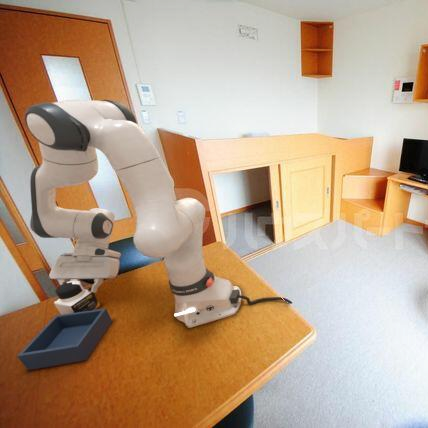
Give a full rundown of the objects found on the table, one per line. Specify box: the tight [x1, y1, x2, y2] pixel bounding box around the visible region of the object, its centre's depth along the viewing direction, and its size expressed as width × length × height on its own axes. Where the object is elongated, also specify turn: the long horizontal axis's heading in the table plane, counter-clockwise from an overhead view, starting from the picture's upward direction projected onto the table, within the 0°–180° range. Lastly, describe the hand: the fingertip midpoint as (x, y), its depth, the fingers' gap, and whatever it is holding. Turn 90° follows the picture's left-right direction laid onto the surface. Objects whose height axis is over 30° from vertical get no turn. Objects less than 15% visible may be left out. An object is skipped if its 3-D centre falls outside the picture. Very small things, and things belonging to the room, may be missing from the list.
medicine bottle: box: [53, 279, 101, 315], centre depth 81 cm, size 7×7×12 cm
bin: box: [16, 308, 113, 371], centre depth 71 cm, size 14×14×6 cm
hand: (78, 292), depth 82 cm, fingers closed on medicine bottle, 7 cm apart
